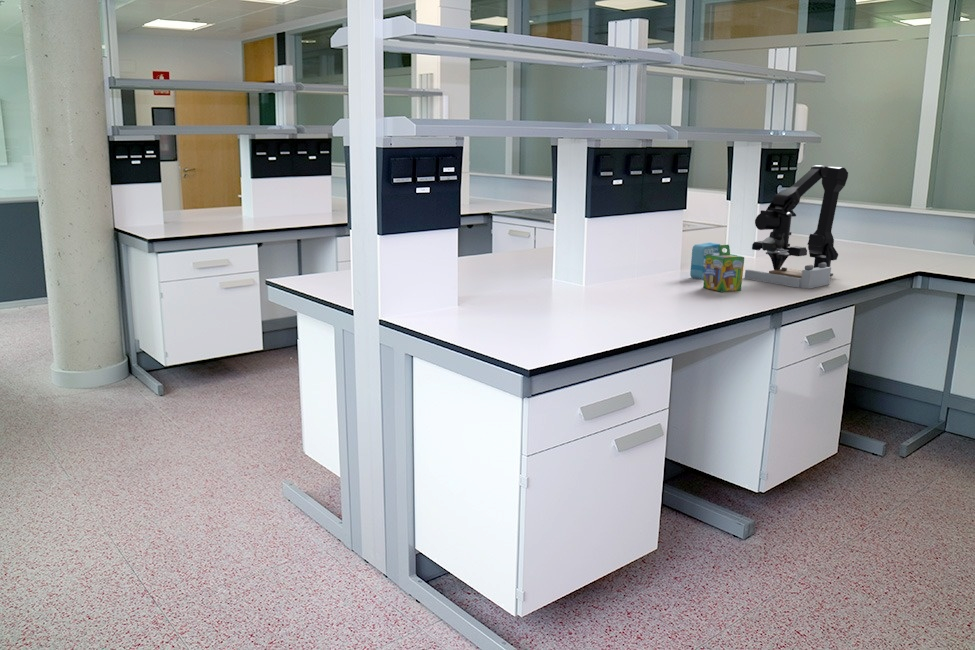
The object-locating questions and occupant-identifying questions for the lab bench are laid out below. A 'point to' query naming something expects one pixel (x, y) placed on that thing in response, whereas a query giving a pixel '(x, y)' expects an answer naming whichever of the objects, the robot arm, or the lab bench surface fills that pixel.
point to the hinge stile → (815, 276)
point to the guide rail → (773, 278)
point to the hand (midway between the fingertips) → (776, 272)
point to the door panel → (787, 272)
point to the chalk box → (723, 271)
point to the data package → (701, 258)
